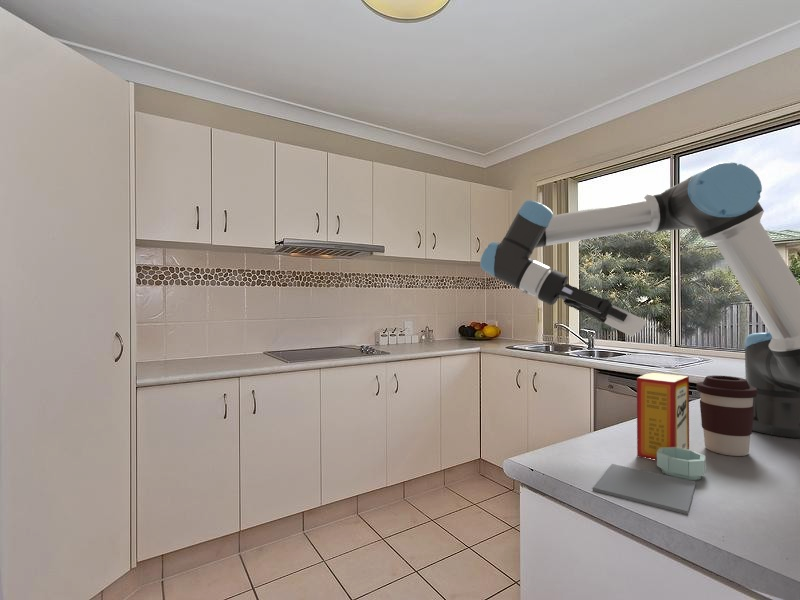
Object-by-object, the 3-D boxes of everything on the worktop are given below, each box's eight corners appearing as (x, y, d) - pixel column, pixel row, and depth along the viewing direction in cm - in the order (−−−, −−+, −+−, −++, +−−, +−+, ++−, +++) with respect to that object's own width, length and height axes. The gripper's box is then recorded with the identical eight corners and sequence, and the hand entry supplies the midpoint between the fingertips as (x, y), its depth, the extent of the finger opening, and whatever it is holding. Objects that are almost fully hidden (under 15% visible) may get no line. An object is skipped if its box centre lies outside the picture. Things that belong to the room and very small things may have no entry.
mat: (695, 484, 73) (695, 481, 73) (688, 514, 63) (687, 511, 63) (611, 466, 81) (611, 463, 81) (592, 490, 71) (592, 487, 71)
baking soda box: (653, 445, 92) (653, 370, 93) (689, 453, 88) (688, 374, 88) (637, 456, 86) (636, 376, 86) (674, 465, 81) (674, 380, 81)
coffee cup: (699, 439, 96) (698, 372, 96) (757, 449, 90) (756, 377, 90) (694, 452, 88) (694, 378, 88) (757, 463, 82) (757, 384, 82)
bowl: (706, 472, 78) (706, 452, 78) (703, 485, 72) (703, 464, 72) (661, 463, 82) (660, 444, 82) (654, 474, 77) (654, 455, 77)
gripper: (542, 304, 109) (625, 347, 101) (529, 289, 87) (635, 342, 78) (557, 278, 109) (642, 319, 100) (547, 256, 86) (657, 306, 77)
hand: (639, 329), depth 89 cm, fingers open, 13 cm apart
